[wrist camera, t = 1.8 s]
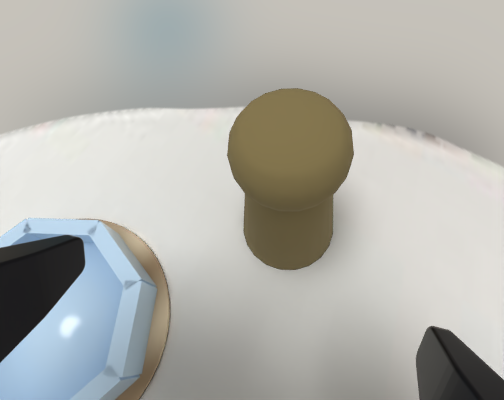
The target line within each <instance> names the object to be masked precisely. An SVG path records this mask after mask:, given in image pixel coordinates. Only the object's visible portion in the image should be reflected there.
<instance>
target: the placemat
mask: <svg viewBox="0 0 504 400" xmlns="http://www.w3.org/2000/svg"><path fill="white" fill-rule="evenodd" d="M79 220H97V219H79ZM99 221H101V222H103V223H104V224H105V225H107V226H108V227H110V228H111V229H113V230H114V231H115V232H117V233H118V234H119V235H120V236H121V237H122V239H123V240H124V242H125V243H126V244H127V246H128V247H129V248H130V250H131V251H132V253H133V254H134V255H135V257H136V258H137V259H138V261H139V262H140V264H141V265H142V266H143V268H144V269H145V271H146V272H147V273H148V275H149V276H150V277H151V279H152V280H153V282H154V283H155V284H156V286H157V287H156V288H157V294H156V299H155V305H154V310H153V316H152V321H151V327H150V332H149V338H148V343H147V349H146V354H145V360H144V365H143V371H142V374H139V375H140V378H139V379H137V380H136V381H135V382H134V383H133V384H132V385H131V386H130V387H129V388H127V389H126V390H125V391H124V392H123V393H122V394H121V395H120V396H119V397H117V398H116V399H115V400H139V398H140V397H141V396H142V394H143V393H144V391H145V389H146V388H147V386H148V384H149V383H150V381H151V379H152V377H153V375H154V373H155V371H156V369H157V367H158V364H159V362H160V359H161V356H162V353H163V350H164V347H165V343H166V338H167V334H168V327H169V317H170V302H169V293H168V287H167V283H166V279H165V276H164V273H163V270H162V268H161V266H160V264H159V262H158V260H157V258H156V257H155V255H154V254H153V252H152V251H151V249H150V248H149V247H148V246H147V245H146V244H145V243H144V242H143V241H142V240H141V239H140V238H138V237H137V236H136V235H135V234H134V233H132V232H130V231H129V230H127V229H125V228H124V227H122V226H119V225H117V224H114V223H112V222H107V221H103V220H99Z"/></svg>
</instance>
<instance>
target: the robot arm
mask: <svg viewBox="0 0 504 400" xmlns="http://www.w3.org/2000/svg"><path fill="white" fill-rule="evenodd" d="M84 268H85V251H84V242H83V240H82V239H81V238H80V237H76V236H72V235H61V236H56V237H51V238H46V239H41V240H36V241H31V242H26V243H21V244H16V245H11V246H6V247H1V248H0V363H1V362H2V361H3V360H4V359H5V358H6V357H7V356H8V355H9V354H10V353H11V352H12V351H13V350H14V349H15V347H16V346H17V345H18V344H19V343H20V342H21V341H22V340H23V339H24V338H25V337H26V336H27V335H28V334H29V333H30V332H31V331H32V330H33V329H34V328H35V327H36V326H37V325H38V324H39V323H40V322H41V321H42V320H43V319H44V318H45V317H46V315H47V314H48V313H49V312H50V311H51V310H52V308H53V307H54V306H55V305H56V304H57V302H58V301H59V300H60V299H61V297H62V296H63V295H64V294H65V293H66V291H67V290H68V289H69V288H70V287H71V285H72V284H73V283H74V282H75V280H76V279H77V278H78V277H79V276H80V274H81V273H82V272H83V270H84ZM416 368H417V378H418V388H419V398H420V400H504V380H503V379H502V378H501V377H500V376H499V375H498V374H497V373H496V372H495V371H493V370H492V369H491V368H490V367H489V366H488V365H487V364H486V363H485V362H484V361H483V360H482V359H480V358H479V357H478V356H477V355H476V354H475V353H474V352H473V351H472V350H471V349H470V348H469V347H467V346H466V345H465V344H464V343H463V342H462V341H461V340H460V339H459V338H458V337H457V336H456V335H454V334H453V333H452V332H451V331H449V330H447V329H443V328H439V327H435V326H430V327H428V328H427V330H426V332H425V334H424V337H423V339H422V342H421V344H420V347H419V349H418V352H417V355H416Z"/></svg>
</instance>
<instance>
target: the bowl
mask: <svg viewBox="0 0 504 400" xmlns="http://www.w3.org/2000/svg"><path fill="white" fill-rule="evenodd" d="M61 235H72V236H76V237H80V238H81V239H82V240H83V242H84V251H85V268H84V270H83V272H82V273H81V274H80V276H79V277H78V278H77V279H76V280H75V282H74V283H73V284H72V285H71V287H70V288H69V289H68V290H67V291H66V293H65V294H64V295H63V296H62V297H61V299H60V300H59V301H58V302H57V304H56V305H55V306H54V307H53V308H52V310H51V311H50V312H49V313H48V314H47V315H46V317H45V318H44V319H43V320H42V321H41V322H40V323H39V324H38V325H37V326H36V327H35V328H34V329H33V330H32V331H31V332H30V333H29V334H28V335H27V336H26V337H25V338H24V339H23V340H22V341H21V342H20V343H19V344H18V345H17V346H16V347H15V349H14V350H13V351H12V352H11V353H10V354H9V355H8V356H7V357H6V358H5V359H4V360H3V361H2V362H1V363H0V400H115V399H116V398H117V397H119V396H120V395H121V394H122V393H123V392H124V391H125V390H126V389H127V388H129V387H130V386H131V385H132V384H133V383H134V382H135V381H136V380H137V379H139V378H140V375H139V374H142V371H143V365H144V360H145V354H146V349H147V343H148V338H149V332H150V327H151V321H152V316H153V310H154V305H155V299H156V294H157V288H156V287H157V286H156V284H155V283H154V282H153V280H152V279H151V277H150V276H149V275H148V273H147V272H146V271H145V269H144V268H143V266H142V265H141V264H140V262H139V261H138V259H137V258H136V257H135V255H134V254H133V253H132V251H131V250H130V248H129V247H128V246H127V244H126V243H125V242H124V240H123V239H122V237H121V236H120V235H119V234H118V233H117V232H115V231H114V230H113V229H111V228H110V227H108V226H107V225H105V224H104V223H103V222H101V221H99V220H79V219H46V218H28V219H25V220H23V221H22V222H20V223H19V224H18V225H16V226H15V227H13V228H12V229H11V230H9V231H8V232H6V233H5V234H4V235H2V236H1V237H0V248H1V247H6V246H11V245H16V244H21V243H26V242H31V241H36V240H41V239H46V238H51V237H56V236H61Z"/></svg>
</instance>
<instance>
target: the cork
mask: <svg viewBox="0 0 504 400" xmlns="http://www.w3.org/2000/svg"><path fill="white" fill-rule="evenodd" d="M353 155H354V151H353V141H352V130H351V128H350V126H349V124H348V122H347V120H346V118H345V116H344V115H343V113H342V112H341V111H340V110H339V109H338V108H337V107H336V106H335V105H334V104H333V103H332V102H331V101H330V100H329V99H327V98H325V97H323V96H321V95H319V94H317V93H315V92H312V91H307V90H303V89H298V88H297V89H296V88H295V89H279V90H276V91H272V92H268V93H265V94H263V95H262V96H260V97H258V98H257V99H255V100H253V101H251V103H250V104H249V105H248V106H247V107H246V108H245V109H244V110H243V111H242V112H241V113H240V114H239V115H238V117H237V118H236V120H235V122H234V124H233V126H232V128H231V130H230V134H229V142H228V153H227V156H228V160H229V163H230V167H231V170H232V174H233V177H234V179H235V180H236V182H237V183H238V184H239V186H240V187H241V189H242V190H243V191H244V193H245V207H244V235H245V239H246V242H247V245H248V247H249V248H250V249H251V251H252V252H253V254H254V255H255V256H256V257H257V258H258V259H260V260H261V261H262V262H264V263H265V264H266V265H269V266H272V267H275V268H277V269H282V270H296V269H300V268H303V267H306V266H309V265H311V264H312V263H314V262H315V261H316V260H318V259H319V258H321V257H322V255H323V254H324V252H325V251H326V250H327V248H328V247H329V244H330V241H331V238H332V234H333V194H334V193H335V192H336V191H337V190H338V188H339V187H340V186H341V184H342V183H343V182H344V180H345V179H346V177H347V175H348V172H349V169H350V166H351V162H352V159H353Z"/></svg>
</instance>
